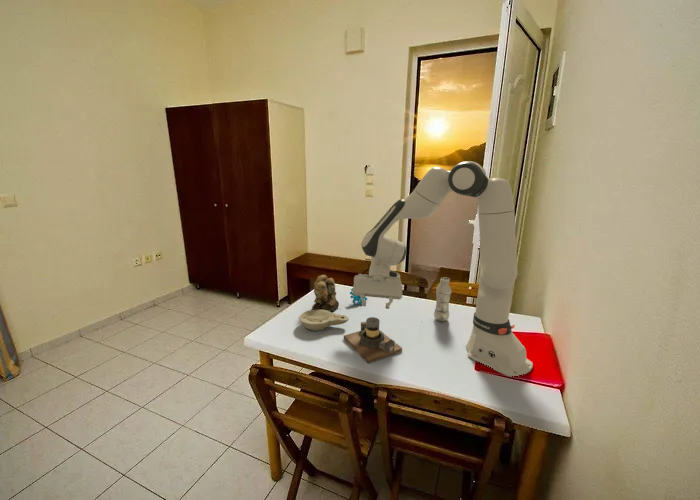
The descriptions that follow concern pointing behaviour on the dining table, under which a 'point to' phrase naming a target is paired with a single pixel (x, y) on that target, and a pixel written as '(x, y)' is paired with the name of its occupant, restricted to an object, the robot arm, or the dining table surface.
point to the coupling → (372, 328)
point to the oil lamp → (321, 319)
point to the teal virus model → (357, 298)
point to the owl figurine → (325, 294)
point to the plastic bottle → (442, 300)
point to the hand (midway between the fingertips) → (375, 307)
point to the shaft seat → (372, 345)
